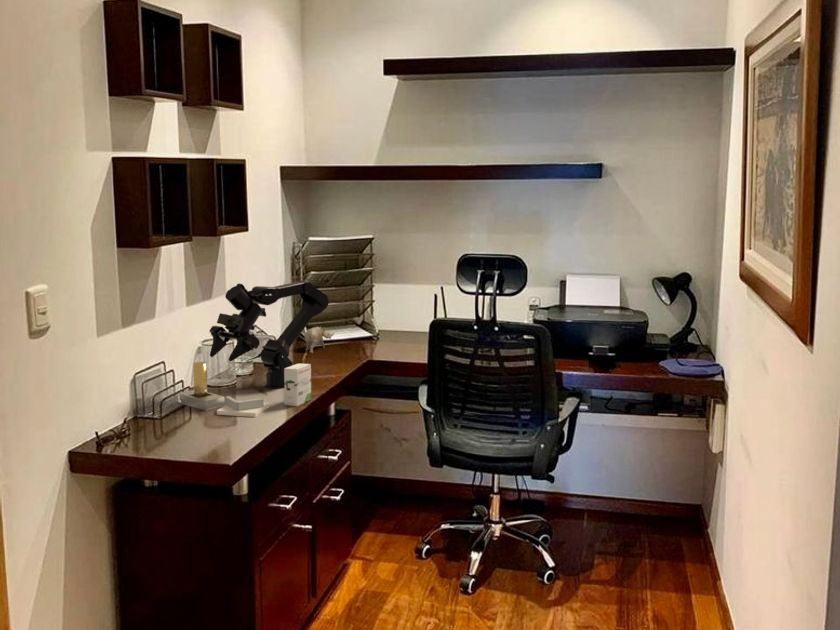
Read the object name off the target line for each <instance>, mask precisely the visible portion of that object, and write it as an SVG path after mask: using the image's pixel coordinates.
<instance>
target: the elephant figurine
mask: <svg viewBox="0 0 840 630" xmlns="http://www.w3.org/2000/svg"><path fill="white" fill-rule="evenodd" d="M325 329H326V327H323V328H322V326H315V327H311V328H310V329H308V330H306V331H305V333H304V340H305V343H306V348H305V351H306V350H310V351H309V352H308V353H309V354H311V353H312V354H313V353H314V348H315V347H316V346H322V347H321V349H325V348H326V347H325V346H326V345H325V343H324V338H325V339H329V340H331V339H332V337H333V336H334V335H335V332H333V333H330V331H325Z"/></svg>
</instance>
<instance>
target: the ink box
mask: <svg viewBox="0 0 840 630" xmlns="http://www.w3.org/2000/svg"><path fill="white" fill-rule="evenodd" d="M283 388H284V405H286V406H293V407H299V406H301V405H303V404H305V403H307V402H310V401H311V400H312V364H311V363H296V364H292V366H290V367H287V368H284V387H283Z"/></svg>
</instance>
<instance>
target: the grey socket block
mask: <svg viewBox="0 0 840 630" xmlns="http://www.w3.org/2000/svg"><path fill="white" fill-rule="evenodd" d="M179 393H180V400H181V405H185V406H189V407H190V408H191V407H192V408H193V409H194V408H195V409H199V410H202V411H206V412H207V411H211V410H215V409H220V408H222V407H223V406H225V396H222V395H219V394H215V393H212V392H208V391H207V395H208V396H206V397H202V398H197V397H194V389H191V390H187V391H183V392H182V391H181V392H179Z"/></svg>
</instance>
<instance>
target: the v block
mask: <svg viewBox="0 0 840 630" xmlns="http://www.w3.org/2000/svg"><path fill="white" fill-rule="evenodd" d="M224 399H225V406H223V407H219V408H217V410H216V415H217V416H218V415H219V416H236V417H250V418H256V417H257V416H259V415H260V414H261V413H263V412H264V411H265V410H267V409H268V408H269V407H270V402H268V401H267V402H265V400H264V398H262V397H261V398H254V399H253V398H252V399H246V400H237V399H235V398H233V397H231V396H229V395H227V396H224Z"/></svg>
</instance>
